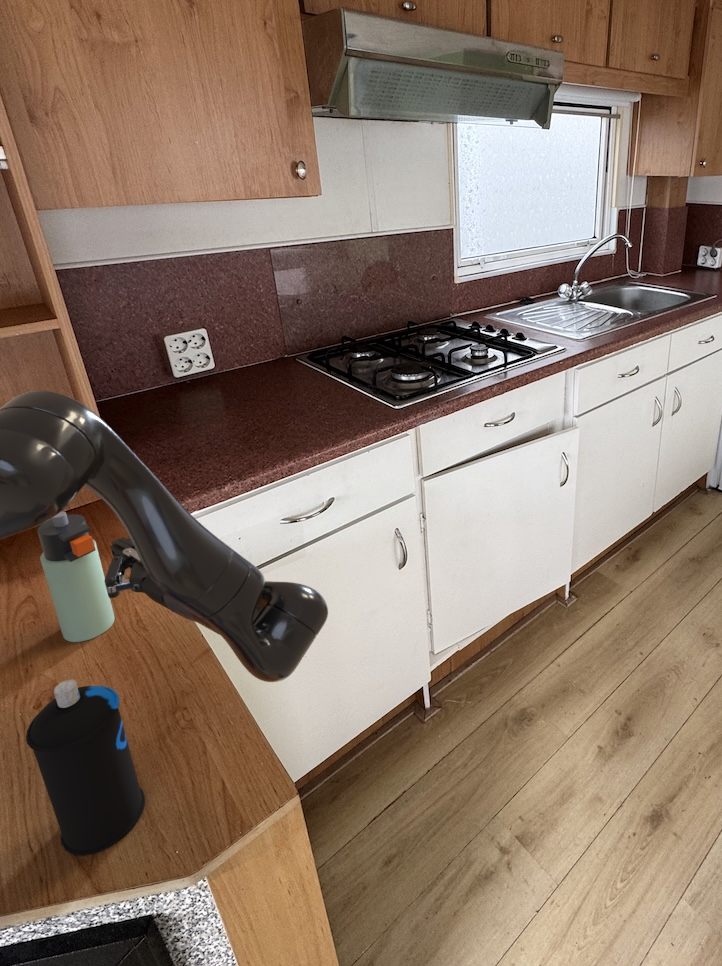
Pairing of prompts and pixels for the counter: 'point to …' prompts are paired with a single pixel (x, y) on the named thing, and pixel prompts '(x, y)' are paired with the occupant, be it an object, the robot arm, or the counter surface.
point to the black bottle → (86, 767)
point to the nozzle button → (82, 545)
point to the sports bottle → (74, 579)
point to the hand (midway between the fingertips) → (117, 545)
